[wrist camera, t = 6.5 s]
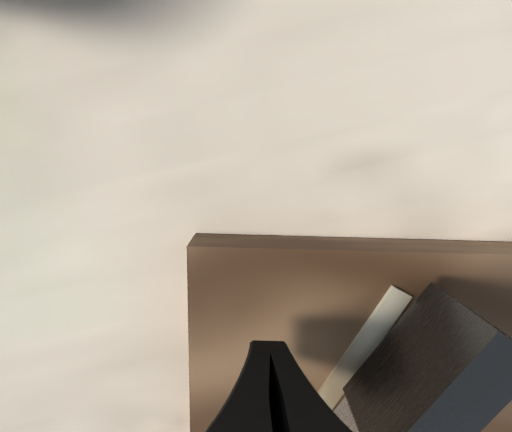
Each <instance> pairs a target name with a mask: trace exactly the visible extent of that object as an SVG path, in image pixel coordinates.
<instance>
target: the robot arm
mask: <svg viewBox="0 0 512 432" xmlns="http://www.w3.org/2000/svg"><path fill="white" fill-rule="evenodd" d="M205 432H353V431H351V430H350V429H349V428H348V427H347V426H346V425H345V424H344V423H343V422H342V421H341V419H340V418H339V417H338V416H337V415H336V414H335V413H334V412H333V411H332V410H331V408H330V407H329V406H328V405H327V404H326V402H325V401H324V400H323V399H322V398H321V396H320V395H319V394H318V392H317V391H316V390H315V389H314V387H313V386H312V384H311V383H310V382H309V380H308V379H307V377H306V376H305V374H304V373H303V371H302V370H301V368H300V367H299V365H298V364H297V362H296V360H295V359H294V357H293V355H292V354H291V352H290V350H289V348H288V346H287V344H286V343H285V342H284V341H261V340H253V341H251V342H250V346H249V351H248V355H247V358H246V360H245V363H244V366H243V368H242V370H241V373H240V375H239V377H238V379H237V381H236V383H235V385H234V387H233V389H232V391H231V393H230V395H229V396H228V398H227V400H226V402H225V403H224V405H223V406H222V408H221V410H220V411H219V413H218V414H217V416H216V417H215V419H214V420H213V421H212V423H211V424H210V425H209V427H208V428H207V430H206V431H205Z"/></svg>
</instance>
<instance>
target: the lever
mask: <svg viewBox="0 0 512 432" xmlns="http://www.w3.org/2000/svg"><path fill="white" fill-rule="evenodd" d="M343 391H344V394H345V396H346V397H345V398H344V399H343V400H342V401H341V402H340V404H339V405H338V406H337V407H336V408H335V410H334V411H333V412H334V413H335V414H336V415H337V416H338V417H339V418H340V419H341V421H342V422H343V423H344V424H345V425H346V426H347V427H348V428H349V429H350V430H351V431H353V432H481V431H482V430H483V429H484V428H485V427H486V426H487V425H488V424H489V423H490V422H491V421H492V420H493V419H494V418H495V416H496V415H497V414H498V413H499V412H500V411H501V410H502V409H503V408H504V407H505V406H506V405H507V404H508V403H509V402H510V401H511V400H512V338H511V337H510V336H509V335H507V334H506V333H504V332H503V331H502V330H500V329H499V328H497V327H496V326H495V325H493V324H492V323H490V322H489V321H488V320H486V319H485V318H484V317H482V316H481V315H479V314H478V313H477V312H475V311H474V310H472V309H471V308H470V307H468V306H467V305H465V304H464V303H462V302H461V301H459V300H458V299H456V298H455V297H453V296H452V295H450V294H449V293H447V292H446V291H444V290H443V289H441V288H440V287H438V286H437V285H435V284H434V283H432V282H430V284H429V285H428V286H427V287H426V288H425V290H424V291H423V292H422V293H421V294H420V296H419V297H418V298H417V299H416V300H415V302H414V303H413V304H412V305H411V306H410V308H409V309H408V310H407V311H406V312H405V314H404V315H403V316H402V317H401V318H400V320H399V321H398V322H397V323H396V325H395V326H394V327H393V328H392V329H391V331H390V332H389V333H388V334H387V335H386V337H385V338H384V339H383V340H382V341H381V343H380V344H379V345H378V346H377V347H376V349H375V350H374V351H373V352H372V353H371V355H370V356H369V357H368V358H367V359H366V361H365V362H364V363H363V364H362V365H361V367H360V368H359V369H358V370H357V372H356V373H355V374H354V375H353V376H352V378H351V379H350V380H349V381H348V382H347V384H346V385H345V386H344V387H343Z"/></svg>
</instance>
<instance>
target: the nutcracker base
mask: <svg viewBox="0 0 512 432" xmlns="http://www.w3.org/2000/svg"><path fill="white" fill-rule="evenodd" d="M187 279H188V333H189V387H190V432H205V431H206V430H207V428H208V427H209V425H210V424H211V423H212V421H213V420H214V419H215V417H216V416H217V414H218V413H219V411H220V410H221V408H222V406H223V405H224V403H225V402H226V400H227V398H228V396H229V395H230V393H231V391H232V389H233V387H234V385H235V383H236V381H237V379H238V377H239V375H240V373H241V370H242V368H243V366H244V363H245V360H246V358H247V355H248V351H249V346H250V342H251V341H253V340H261V341H284V342H285V343H286V344H287V346H288V348H289V350H290V352H291V354H292V355H293V357H294V359H295V360H296V362H297V364H298V365H299V367H300V368H301V370H302V371H303V373H304V374H305V376H306V377H307V379H308V380H309V382H310V383H311V384H312V386H313V387H314V389H315V390H316V391H317V392H318V394H319V395H320V396H321V398H322V399H323V400H324V401H325V402H326V404H327V405H328V406H329V407H330V408H331V410H332V411H334V410H335V408H336V407H337V406H338V405H339V404H340V402H341V401H342V400H343V399H344V398H345V397H346V396H345V394H344V391H343V387H344V386H345V385H346V384H347V382H348V381H349V380H350V379H351V378H352V376H353V375H354V374H355V373H356V372H357V370H358V369H359V368H360V367H361V365H362V364H363V363H364V362H365V361H366V359H367V358H368V357H369V356H370V355H371V353H372V352H373V351H374V350H375V349H376V347H377V346H378V345H379V344H380V343H381V341H382V340H383V339H384V338H385V337H386V335H387V334H388V333H389V332H390V331H391V329H392V328H393V327H394V326H395V325H396V323H397V322H398V321H399V320H400V318H401V317H402V316H403V315H404V314H405V312H406V311H407V310H408V309H409V308H410V306H411V305H412V304H413V303H414V302H415V300H416V299H417V298H418V297H419V296H420V294H421V293H422V292H423V291H424V290H425V288H426V287H427V286H428V285H429V284H430V282H432V283H434V284H435V285H437V286H438V287H440V288H441V289H443V290H444V291H446V292H447V293H449V294H450V295H452V296H453V297H455V298H456V299H458V300H459V301H461V302H462V303H464V304H465V305H467V306H468V307H470V308H471V309H472V310H474V311H475V312H477V313H478V314H479V315H481V316H482V317H484V318H485V319H486V320H488V321H489V322H490V323H492V324H493V325H495V326H496V327H497V328H499V329H500V330H502V331H503V332H504V333H506V334H507V335H509V336H510V337H511V338H512V242H497V241H460V240H422V239H385V238H348V237H311V236H273V235H236V234H199V233H196V234H195V235H194V237H193V238H192V240H191V241H190V243H189V244H188V246H187ZM481 432H512V400H511V401H510V402H509V403H508V404H507V405H506V406H505V407H504V408H503V409H502V410H501V411H500V412H499V413H498V414H497V415H496V416H495V418H494V419H493V420H492V421H491V422H490V423H489V424H488V425H487V426H486V427H485V428H484V429H483V430H482V431H481Z"/></svg>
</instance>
